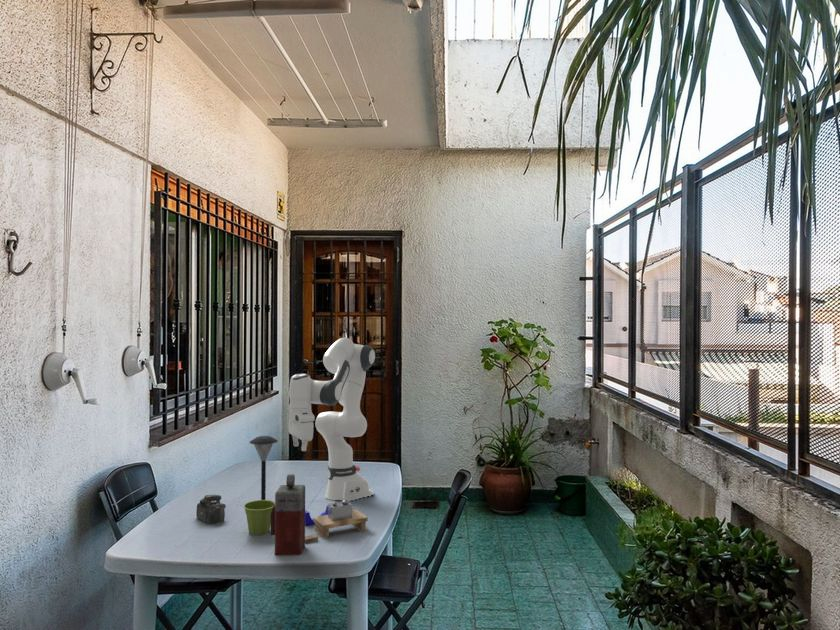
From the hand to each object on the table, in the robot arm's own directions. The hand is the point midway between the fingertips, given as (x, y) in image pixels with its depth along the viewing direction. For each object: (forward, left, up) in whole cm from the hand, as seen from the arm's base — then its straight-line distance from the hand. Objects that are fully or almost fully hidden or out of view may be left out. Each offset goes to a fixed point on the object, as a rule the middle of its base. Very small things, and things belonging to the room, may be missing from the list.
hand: (299, 448), depth 235 cm
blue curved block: (-5, +6, -30) cm, 31 cm away
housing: (-9, +21, -23) cm, 32 cm away
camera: (+31, -18, -29) cm, 46 cm away
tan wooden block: (+5, +26, -29) cm, 39 cm away
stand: (-9, +21, -29) cm, 37 cm away
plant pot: (+18, +7, -29) cm, 35 cm away
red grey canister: (+15, +31, -29) cm, 46 cm away
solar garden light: (+8, -24, -29) cm, 39 cm away
